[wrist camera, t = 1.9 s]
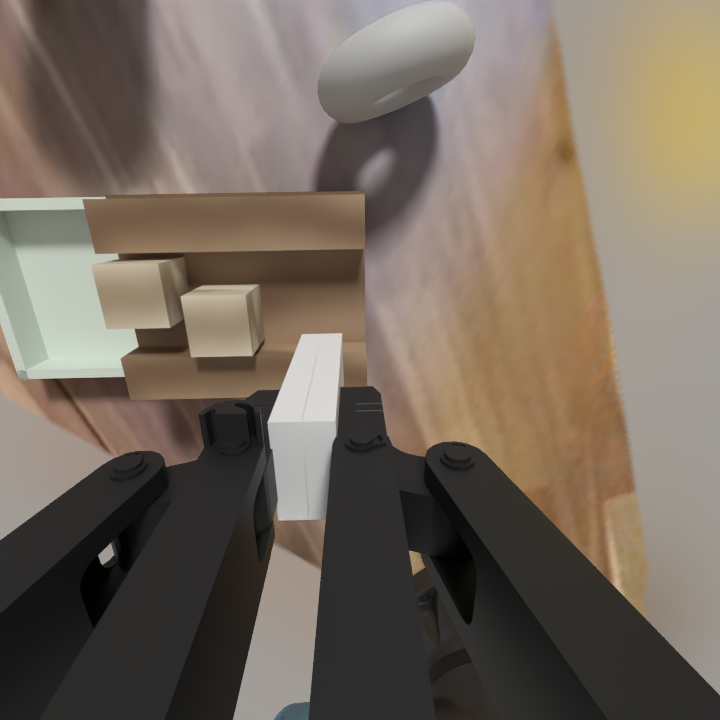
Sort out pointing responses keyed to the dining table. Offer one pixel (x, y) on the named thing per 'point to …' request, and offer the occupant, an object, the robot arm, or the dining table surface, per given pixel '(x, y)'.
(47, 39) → the dining table surface
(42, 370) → the tray
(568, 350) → the dining table surface
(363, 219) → the slot board
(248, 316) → the beige wooden cube
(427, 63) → the donut
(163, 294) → the tan wooden cube
